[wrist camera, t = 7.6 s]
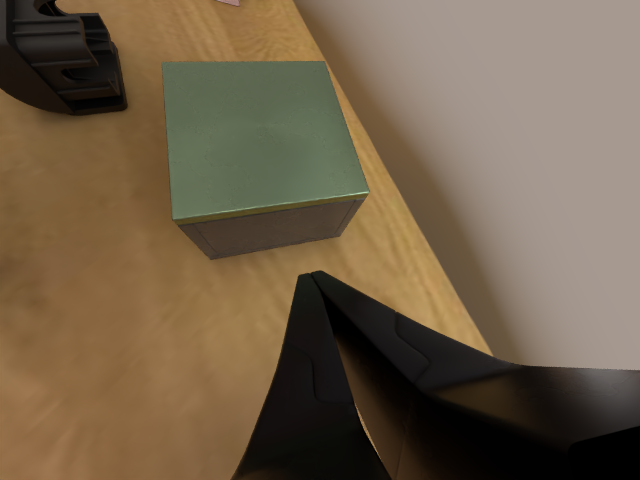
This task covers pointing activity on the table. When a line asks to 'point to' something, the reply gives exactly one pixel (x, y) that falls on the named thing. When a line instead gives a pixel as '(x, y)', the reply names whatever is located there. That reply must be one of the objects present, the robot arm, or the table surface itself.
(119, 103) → the end cap
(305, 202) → the lid
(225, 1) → the greeting card
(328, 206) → the bin
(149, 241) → the table surface
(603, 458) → the robot arm
